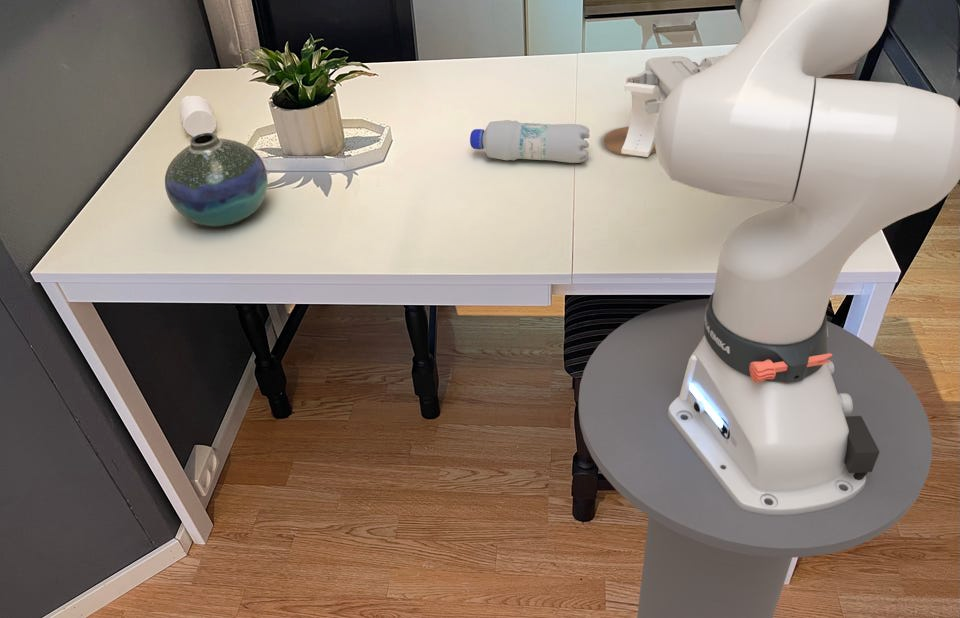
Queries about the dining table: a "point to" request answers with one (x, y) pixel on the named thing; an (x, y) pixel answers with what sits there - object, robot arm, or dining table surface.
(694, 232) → the dining table surface
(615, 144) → the coaster
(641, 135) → the headphone stand
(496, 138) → the bottle
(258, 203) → the vase
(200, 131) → the roll
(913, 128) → the robot arm
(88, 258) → the dining table surface
